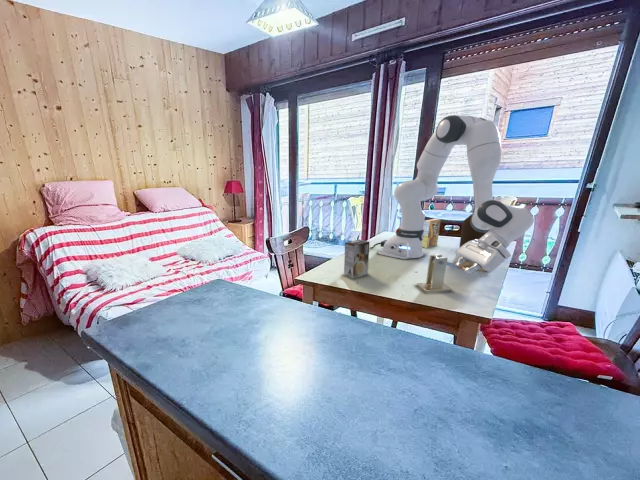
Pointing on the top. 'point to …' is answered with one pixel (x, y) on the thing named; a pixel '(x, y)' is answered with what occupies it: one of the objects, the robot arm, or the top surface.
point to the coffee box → (356, 258)
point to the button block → (469, 265)
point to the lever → (452, 265)
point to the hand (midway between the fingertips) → (460, 269)
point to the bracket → (435, 275)
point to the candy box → (431, 232)
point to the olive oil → (469, 232)
